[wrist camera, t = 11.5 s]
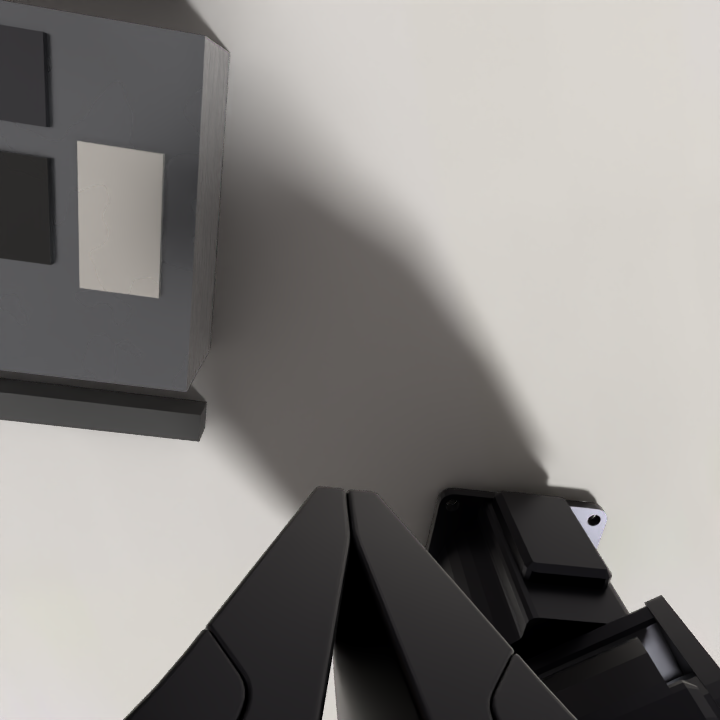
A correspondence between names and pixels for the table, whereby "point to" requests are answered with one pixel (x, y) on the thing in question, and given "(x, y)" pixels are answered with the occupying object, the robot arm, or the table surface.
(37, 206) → the strip
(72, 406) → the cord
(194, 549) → the table surface
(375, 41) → the table surface
